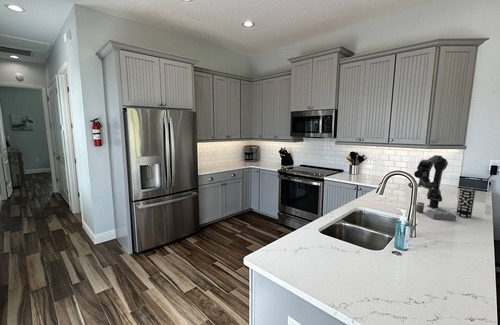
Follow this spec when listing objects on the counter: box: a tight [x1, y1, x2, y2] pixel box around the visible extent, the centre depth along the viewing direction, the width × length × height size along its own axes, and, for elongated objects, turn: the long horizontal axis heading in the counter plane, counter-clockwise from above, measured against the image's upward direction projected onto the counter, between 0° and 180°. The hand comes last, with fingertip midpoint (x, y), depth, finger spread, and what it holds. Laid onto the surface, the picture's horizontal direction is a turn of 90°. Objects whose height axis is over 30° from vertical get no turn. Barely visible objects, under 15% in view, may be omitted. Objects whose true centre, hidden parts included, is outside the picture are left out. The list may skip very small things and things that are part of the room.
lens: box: [415, 201, 425, 214], centre depth 184 cm, size 5×5×7 cm
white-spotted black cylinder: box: [455, 188, 476, 219], centre depth 175 cm, size 8×8×20 cm
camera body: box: [426, 208, 457, 222], centre depth 172 cm, size 9×14×6 cm, turn 78°
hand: (422, 196), depth 182 cm, fingers open, 9 cm apart
